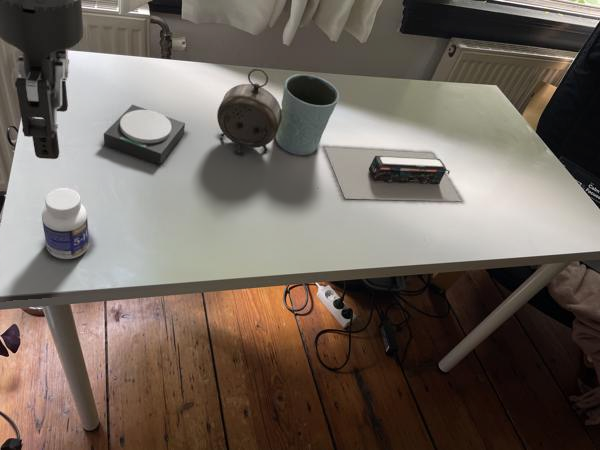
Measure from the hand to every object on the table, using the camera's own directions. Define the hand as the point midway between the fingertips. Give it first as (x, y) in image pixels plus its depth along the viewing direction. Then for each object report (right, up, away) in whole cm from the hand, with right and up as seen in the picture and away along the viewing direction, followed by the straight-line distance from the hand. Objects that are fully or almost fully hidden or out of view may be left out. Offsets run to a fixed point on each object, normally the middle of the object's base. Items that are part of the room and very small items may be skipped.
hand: (53, 131), depth 55 cm
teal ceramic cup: (+27, +6, +42) cm, 50 cm away
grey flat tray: (+46, 0, +42) cm, 62 cm away
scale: (0, +5, +31) cm, 32 cm away
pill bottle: (-4, -13, +12) cm, 19 cm away
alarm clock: (+17, +4, +37) cm, 41 cm away
